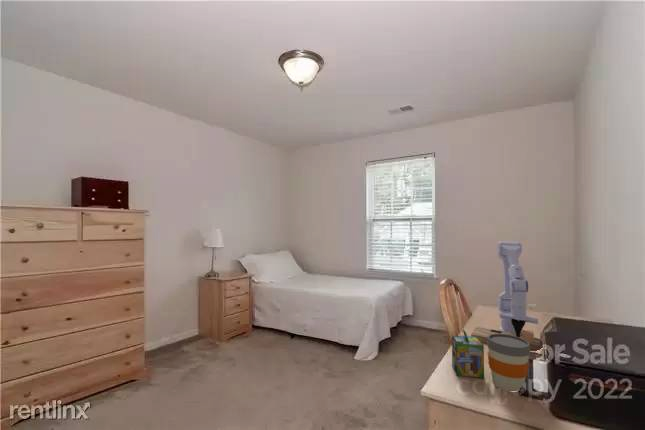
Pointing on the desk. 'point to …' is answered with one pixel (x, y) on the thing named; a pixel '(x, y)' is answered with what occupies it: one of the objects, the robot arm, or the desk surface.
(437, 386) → the desk surface
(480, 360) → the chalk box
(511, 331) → the robot arm
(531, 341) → the block
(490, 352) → the reusable coffee cup
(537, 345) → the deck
